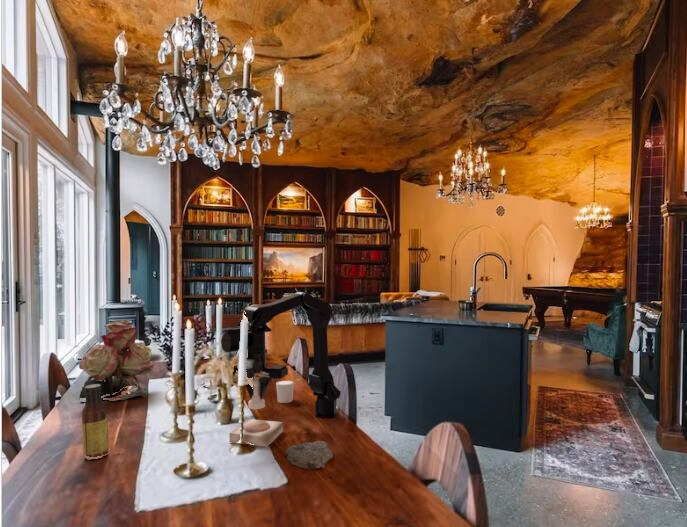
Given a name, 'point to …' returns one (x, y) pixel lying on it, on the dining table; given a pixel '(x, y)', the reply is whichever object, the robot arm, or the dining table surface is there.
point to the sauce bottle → (94, 423)
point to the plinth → (258, 432)
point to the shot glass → (285, 391)
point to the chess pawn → (256, 396)
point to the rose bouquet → (117, 361)
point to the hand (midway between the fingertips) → (256, 398)
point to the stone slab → (309, 455)
